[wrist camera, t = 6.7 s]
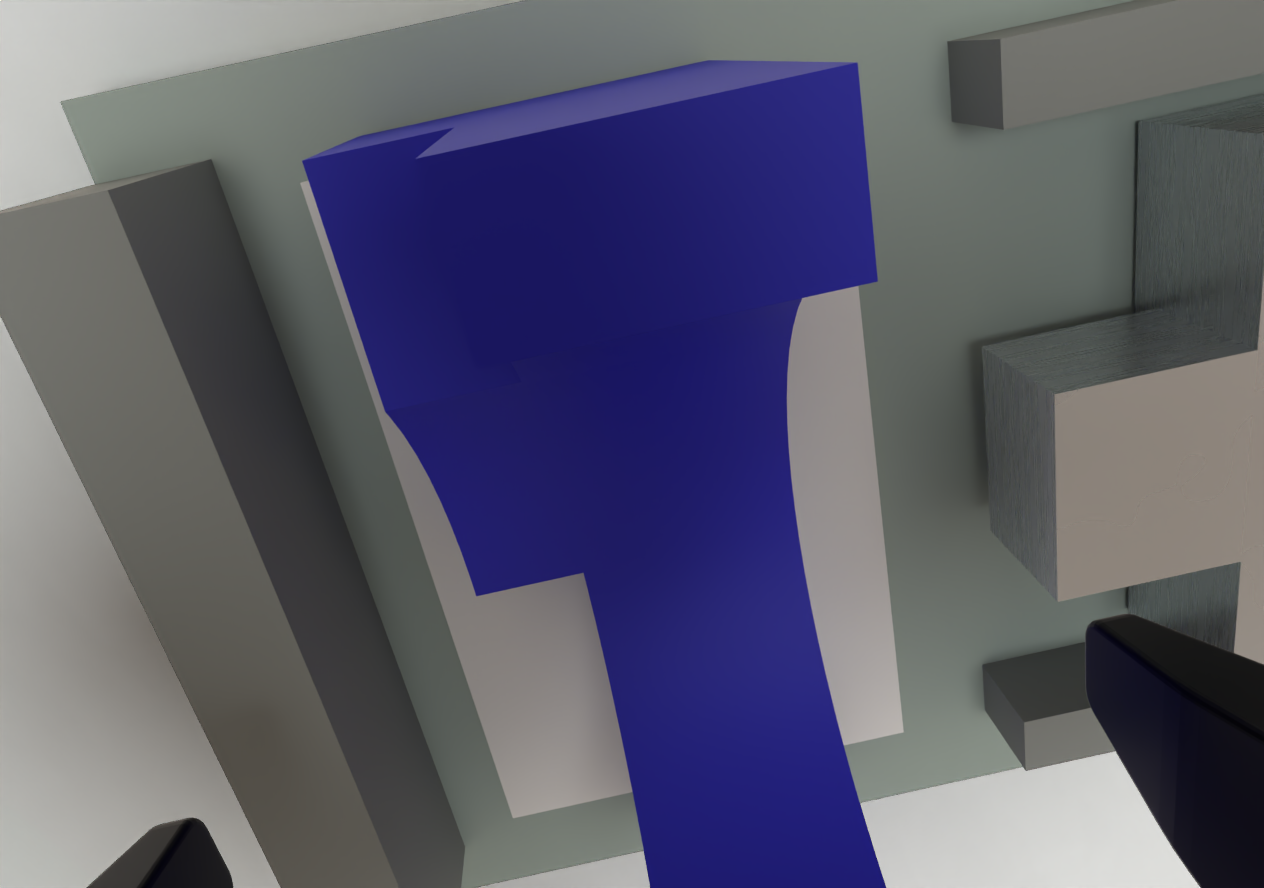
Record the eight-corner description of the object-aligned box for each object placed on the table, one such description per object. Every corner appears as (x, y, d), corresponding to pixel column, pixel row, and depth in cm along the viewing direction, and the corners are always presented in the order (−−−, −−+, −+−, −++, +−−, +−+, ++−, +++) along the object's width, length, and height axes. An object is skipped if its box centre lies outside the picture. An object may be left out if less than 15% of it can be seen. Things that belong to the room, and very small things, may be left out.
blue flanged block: (359, 136, 12) (192, 207, 6) (708, 59, 12) (858, 61, 6) (570, 831, 16) (584, 1225, 11) (818, 776, 16) (957, 1142, 11)
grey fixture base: (1498, -208, 12) (1911, -322, 9) (1370, 648, 18) (1586, 802, 14) (97, 97, 12) (-98, 116, 8) (407, 860, 18) (370, 1071, 14)
